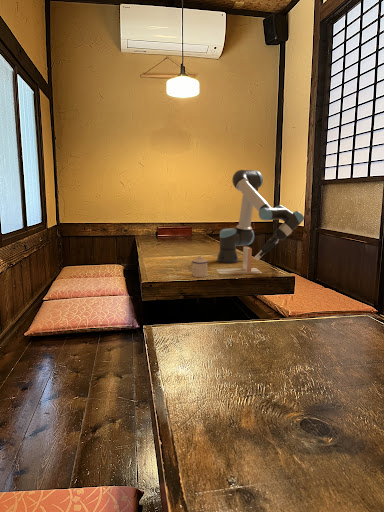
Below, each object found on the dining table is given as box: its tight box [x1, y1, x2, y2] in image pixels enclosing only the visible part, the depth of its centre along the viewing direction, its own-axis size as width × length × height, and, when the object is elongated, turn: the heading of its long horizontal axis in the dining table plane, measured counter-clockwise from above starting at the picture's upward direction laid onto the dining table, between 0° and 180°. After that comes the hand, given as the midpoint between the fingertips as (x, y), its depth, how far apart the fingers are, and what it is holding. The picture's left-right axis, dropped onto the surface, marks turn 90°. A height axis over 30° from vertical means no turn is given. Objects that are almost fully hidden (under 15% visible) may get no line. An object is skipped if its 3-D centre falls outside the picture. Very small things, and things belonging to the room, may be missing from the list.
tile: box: [242, 246, 253, 271], centre depth 225 cm, size 10×3×14 cm, turn 4°
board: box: [216, 267, 263, 275], centre depth 226 cm, size 20×26×1 cm
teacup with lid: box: [186, 255, 209, 278], centre depth 214 cm, size 12×9×12 cm
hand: (255, 259), depth 226 cm, fingers closed
